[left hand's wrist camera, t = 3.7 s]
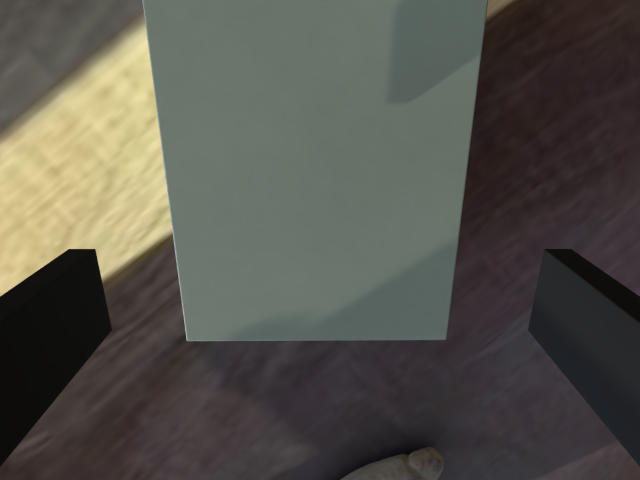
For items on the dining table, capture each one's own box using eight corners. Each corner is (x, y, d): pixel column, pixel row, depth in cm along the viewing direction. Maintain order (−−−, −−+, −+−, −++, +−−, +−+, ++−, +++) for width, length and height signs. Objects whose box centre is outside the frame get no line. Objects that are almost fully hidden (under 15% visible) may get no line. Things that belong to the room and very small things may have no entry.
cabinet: (202, -82, 19) (115, -206, 11) (428, -82, 19) (513, -204, 11) (229, 254, 25) (186, 341, 17) (403, 254, 25) (446, 340, 17)
